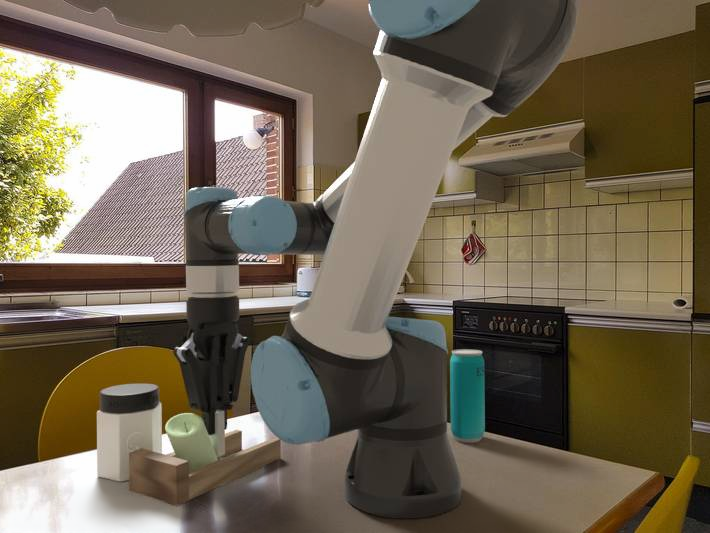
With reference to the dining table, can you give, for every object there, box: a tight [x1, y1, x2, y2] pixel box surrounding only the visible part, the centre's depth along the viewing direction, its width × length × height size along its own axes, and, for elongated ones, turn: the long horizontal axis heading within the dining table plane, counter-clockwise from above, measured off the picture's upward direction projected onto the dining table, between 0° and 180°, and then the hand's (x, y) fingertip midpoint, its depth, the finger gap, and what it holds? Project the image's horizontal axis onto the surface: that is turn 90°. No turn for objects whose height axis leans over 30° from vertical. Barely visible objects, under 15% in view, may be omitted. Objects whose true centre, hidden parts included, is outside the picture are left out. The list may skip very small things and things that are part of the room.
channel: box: [128, 429, 282, 507], centre depth 80 cm, size 9×20×5 cm, turn 148°
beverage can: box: [449, 348, 486, 444], centre depth 95 cm, size 6×6×15 cm
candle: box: [164, 412, 219, 472], centre depth 78 cm, size 5×5×8 cm
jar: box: [96, 382, 163, 483], centre depth 81 cm, size 9×8×12 cm
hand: (215, 453), depth 82 cm, fingers closed
